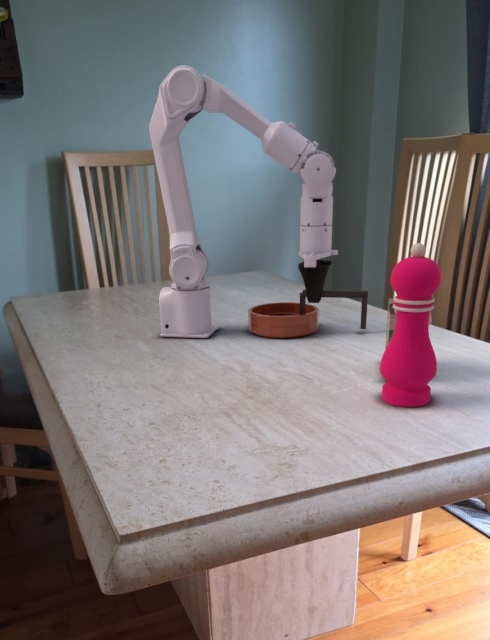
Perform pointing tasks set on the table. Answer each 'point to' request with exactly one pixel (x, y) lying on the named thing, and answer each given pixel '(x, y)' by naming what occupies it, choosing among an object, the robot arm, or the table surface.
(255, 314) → the bowl
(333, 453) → the table surface
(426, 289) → the pepper mill
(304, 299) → the dark grey bent bar
